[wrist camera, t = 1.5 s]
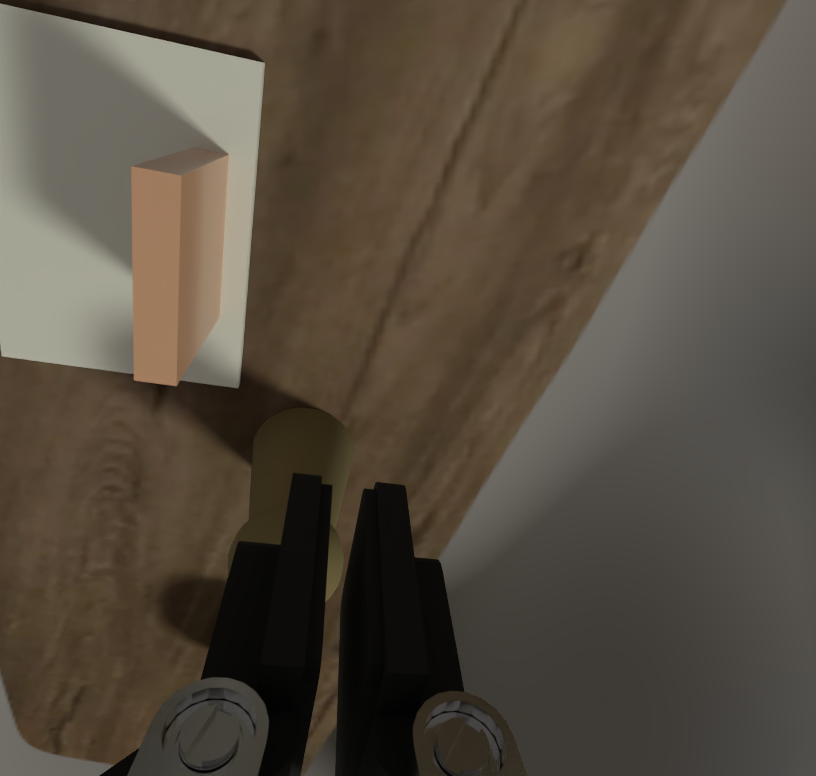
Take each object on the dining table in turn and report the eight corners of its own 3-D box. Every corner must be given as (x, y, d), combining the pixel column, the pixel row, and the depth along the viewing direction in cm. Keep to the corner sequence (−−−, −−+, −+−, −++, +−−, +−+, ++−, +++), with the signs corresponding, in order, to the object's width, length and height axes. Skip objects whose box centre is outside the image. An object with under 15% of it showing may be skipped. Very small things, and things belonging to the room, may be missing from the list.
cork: (242, 479, 35) (198, 626, 25) (264, 396, 33) (225, 523, 23) (338, 500, 36) (331, 648, 27) (366, 421, 34) (369, 552, 24)
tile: (189, 146, 26) (126, 165, 19) (228, 154, 26) (181, 175, 19) (184, 311, 30) (129, 379, 22) (219, 317, 30) (176, 386, 23)
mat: (-34, -4, 23) (-43, -6, 23) (265, 63, 25) (262, 62, 25) (8, 351, 30) (1, 356, 30) (240, 383, 32) (238, 388, 32)
